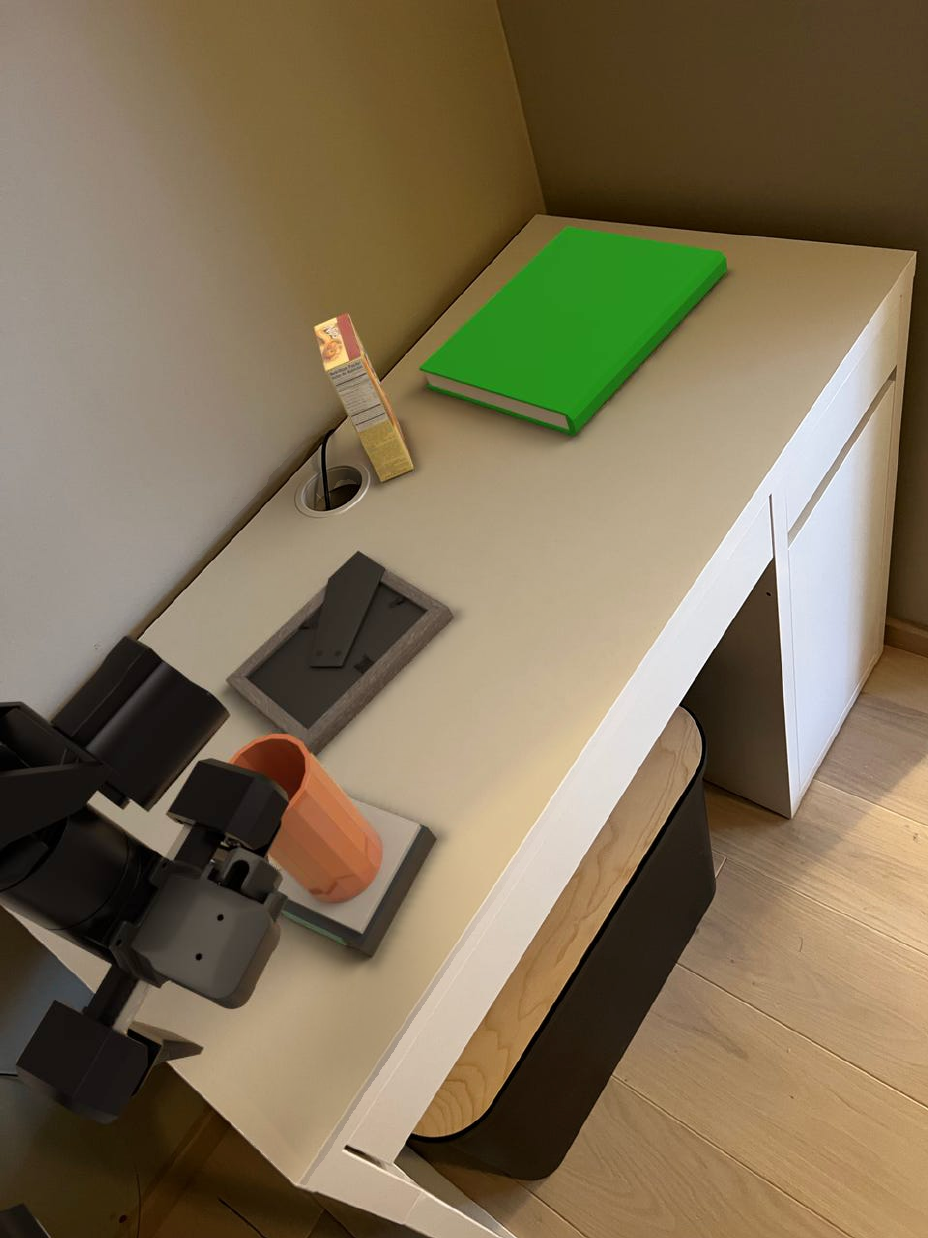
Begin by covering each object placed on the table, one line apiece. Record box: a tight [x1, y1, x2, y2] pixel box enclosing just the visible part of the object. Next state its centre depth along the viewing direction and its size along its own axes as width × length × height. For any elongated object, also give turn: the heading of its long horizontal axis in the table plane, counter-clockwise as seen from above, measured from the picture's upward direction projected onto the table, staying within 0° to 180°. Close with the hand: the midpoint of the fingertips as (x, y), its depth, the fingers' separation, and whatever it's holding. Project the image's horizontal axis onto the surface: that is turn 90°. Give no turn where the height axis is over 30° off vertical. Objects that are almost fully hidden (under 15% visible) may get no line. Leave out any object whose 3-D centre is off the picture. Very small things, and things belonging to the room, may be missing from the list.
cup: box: [227, 733, 383, 903], centre depth 69 cm, size 7×7×13 cm
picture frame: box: [225, 550, 454, 757], centre depth 90 cm, size 13×2×18 cm
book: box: [418, 225, 728, 437], centre depth 109 cm, size 22×28×3 cm
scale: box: [278, 796, 437, 958], centre depth 75 cm, size 10×10×3 cm
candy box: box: [313, 312, 414, 483], centre depth 101 cm, size 9×4×15 cm, turn 15°
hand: (236, 972), depth 59 cm, fingers open, 9 cm apart
